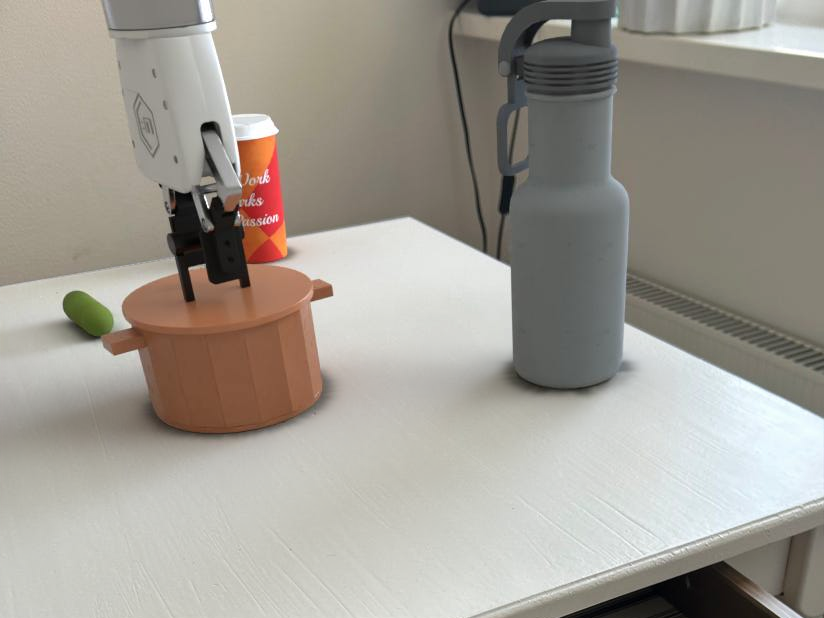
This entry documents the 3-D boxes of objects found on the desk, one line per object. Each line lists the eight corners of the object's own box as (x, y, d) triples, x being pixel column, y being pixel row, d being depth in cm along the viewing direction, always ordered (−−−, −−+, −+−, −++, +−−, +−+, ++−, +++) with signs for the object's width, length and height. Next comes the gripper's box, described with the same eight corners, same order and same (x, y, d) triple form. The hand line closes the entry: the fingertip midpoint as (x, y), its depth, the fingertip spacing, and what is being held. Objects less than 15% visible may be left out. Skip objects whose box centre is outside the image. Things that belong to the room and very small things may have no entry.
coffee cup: (217, 265, 118) (189, 127, 109) (246, 245, 124) (221, 112, 115) (282, 267, 116) (258, 126, 107) (308, 246, 122) (287, 112, 113)
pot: (379, 389, 86) (367, 293, 81) (165, 460, 77) (137, 357, 72) (300, 344, 96) (285, 255, 91) (101, 403, 87) (72, 307, 82)
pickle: (122, 335, 100) (113, 304, 98) (91, 343, 99) (82, 312, 97) (93, 313, 106) (84, 284, 104) (63, 321, 104) (54, 291, 102)
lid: (349, 308, 80) (338, 224, 76) (169, 358, 73) (147, 269, 69) (262, 266, 90) (249, 190, 86) (98, 307, 83) (75, 227, 79)
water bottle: (489, 379, 87) (474, 6, 70) (540, 342, 93) (537, -8, 76) (593, 399, 83) (604, 7, 65) (639, 358, 89) (660, -9, 72)
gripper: (67, 8, 73) (131, 259, 84) (154, 21, 62) (215, 309, 73) (162, -2, 76) (212, 241, 87) (261, 9, 65) (304, 285, 76)
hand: (213, 269), depth 80 cm, fingers open, 5 cm apart
